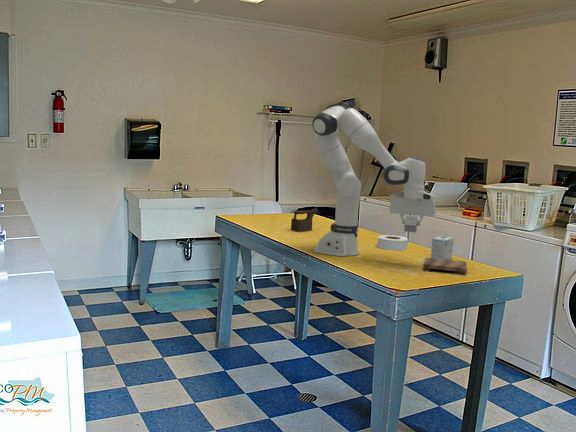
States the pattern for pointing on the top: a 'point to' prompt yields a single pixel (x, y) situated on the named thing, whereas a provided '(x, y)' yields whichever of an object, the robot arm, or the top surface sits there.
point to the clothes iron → (303, 221)
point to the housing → (410, 223)
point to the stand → (445, 265)
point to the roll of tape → (392, 242)
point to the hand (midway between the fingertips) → (411, 224)
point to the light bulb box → (442, 247)
